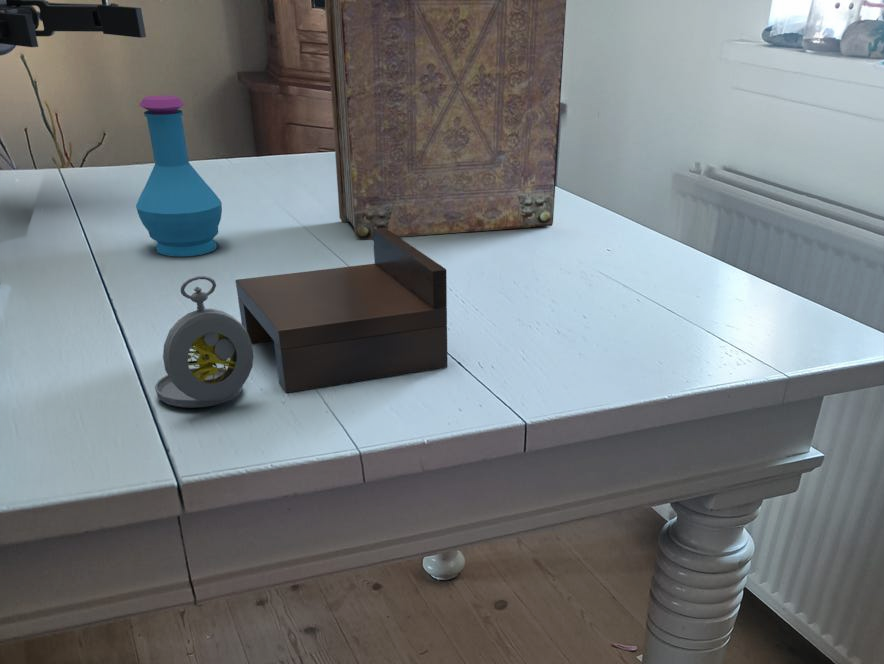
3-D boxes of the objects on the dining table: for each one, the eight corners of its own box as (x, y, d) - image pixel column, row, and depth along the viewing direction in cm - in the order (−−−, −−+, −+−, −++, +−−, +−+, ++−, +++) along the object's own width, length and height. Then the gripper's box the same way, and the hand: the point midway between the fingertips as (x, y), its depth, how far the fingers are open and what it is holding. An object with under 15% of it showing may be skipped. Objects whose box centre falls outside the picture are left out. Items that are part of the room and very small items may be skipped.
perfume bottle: (185, 264, 101) (158, 107, 92) (127, 251, 105) (95, 98, 95) (244, 245, 107) (224, 96, 98) (187, 233, 111) (162, 89, 102)
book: (353, 240, 109) (332, -81, 91) (339, 221, 116) (316, -81, 98) (553, 226, 116) (571, -77, 97) (529, 209, 123) (540, -77, 104)
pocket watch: (190, 374, 76) (167, 246, 70) (279, 390, 74) (263, 259, 68) (126, 412, 70) (94, 275, 64) (220, 430, 68) (197, 291, 62)
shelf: (286, 393, 73) (273, 290, 68) (243, 336, 83) (229, 243, 78) (447, 367, 78) (446, 269, 73) (389, 316, 88) (384, 227, 83)
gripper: (73, 45, 117) (187, 58, 108) (-122, 62, 101) (-9, 80, 92) (58, -28, 113) (174, -21, 103) (-150, -22, 97) (-34, -13, 87)
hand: (89, 26), depth 98 cm, fingers open, 13 cm apart
